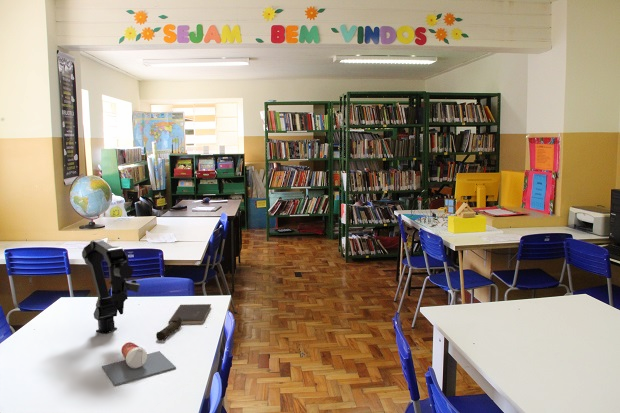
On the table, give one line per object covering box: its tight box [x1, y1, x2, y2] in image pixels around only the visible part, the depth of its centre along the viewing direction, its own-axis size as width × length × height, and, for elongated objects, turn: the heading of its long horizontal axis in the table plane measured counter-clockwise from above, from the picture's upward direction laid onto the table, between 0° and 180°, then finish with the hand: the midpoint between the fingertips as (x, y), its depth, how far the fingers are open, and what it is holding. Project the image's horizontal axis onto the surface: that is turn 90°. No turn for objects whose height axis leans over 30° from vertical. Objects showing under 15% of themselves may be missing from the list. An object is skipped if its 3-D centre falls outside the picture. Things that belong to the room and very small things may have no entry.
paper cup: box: [121, 341, 148, 368], centre depth 189 cm, size 8×8×14 cm
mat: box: [101, 350, 177, 387], centre depth 186 cm, size 18×22×1 cm
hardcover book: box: [167, 303, 212, 325], centre depth 242 cm, size 16×23×2 cm
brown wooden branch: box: [155, 317, 182, 341], centre depth 221 cm, size 19×4×5 cm, turn 165°
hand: (121, 314), depth 209 cm, fingers closed
